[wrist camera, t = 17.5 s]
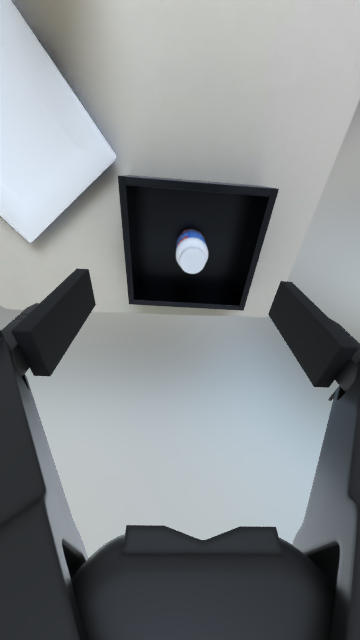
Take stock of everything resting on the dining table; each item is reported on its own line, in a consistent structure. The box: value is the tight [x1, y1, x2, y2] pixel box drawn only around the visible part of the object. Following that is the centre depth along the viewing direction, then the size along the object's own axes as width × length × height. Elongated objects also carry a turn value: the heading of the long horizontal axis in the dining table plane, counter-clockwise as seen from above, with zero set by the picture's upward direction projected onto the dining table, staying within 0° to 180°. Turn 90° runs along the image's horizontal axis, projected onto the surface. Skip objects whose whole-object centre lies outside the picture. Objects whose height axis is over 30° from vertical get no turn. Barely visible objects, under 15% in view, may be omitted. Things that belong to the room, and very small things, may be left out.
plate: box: [0, 0, 116, 243], centre depth 30 cm, size 22×22×2 cm
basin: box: [118, 175, 279, 310], centre depth 37 cm, size 22×20×8 cm
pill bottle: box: [176, 229, 208, 274], centre depth 36 cm, size 6×5×10 cm
